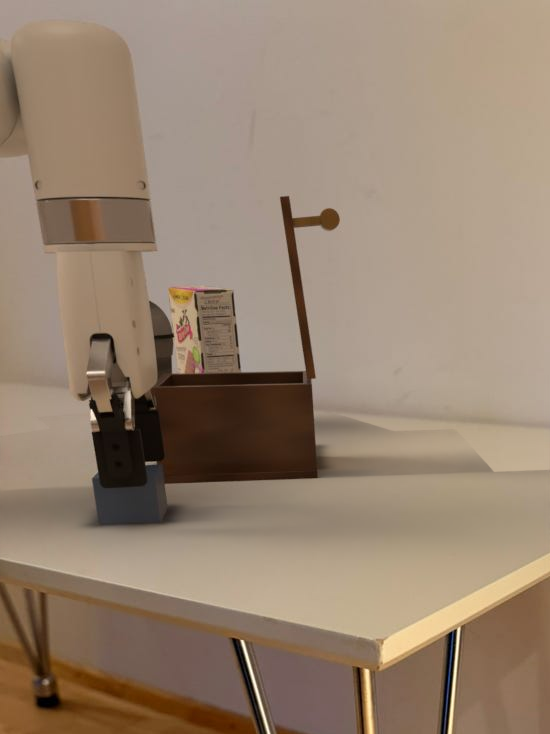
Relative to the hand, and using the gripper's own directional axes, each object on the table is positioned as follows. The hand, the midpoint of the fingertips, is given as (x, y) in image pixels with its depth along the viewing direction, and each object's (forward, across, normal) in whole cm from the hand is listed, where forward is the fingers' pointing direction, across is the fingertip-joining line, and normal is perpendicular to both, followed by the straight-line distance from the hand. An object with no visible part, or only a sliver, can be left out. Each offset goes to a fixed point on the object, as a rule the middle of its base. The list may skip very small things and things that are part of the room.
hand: (135, 473), depth 75 cm
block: (+4, 0, -1) cm, 4 cm away
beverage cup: (+4, -40, -5) cm, 41 cm away
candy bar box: (+4, -50, +1) cm, 50 cm away
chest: (+4, -22, +6) cm, 24 cm away
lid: (-12, -22, +13) cm, 28 cm away
